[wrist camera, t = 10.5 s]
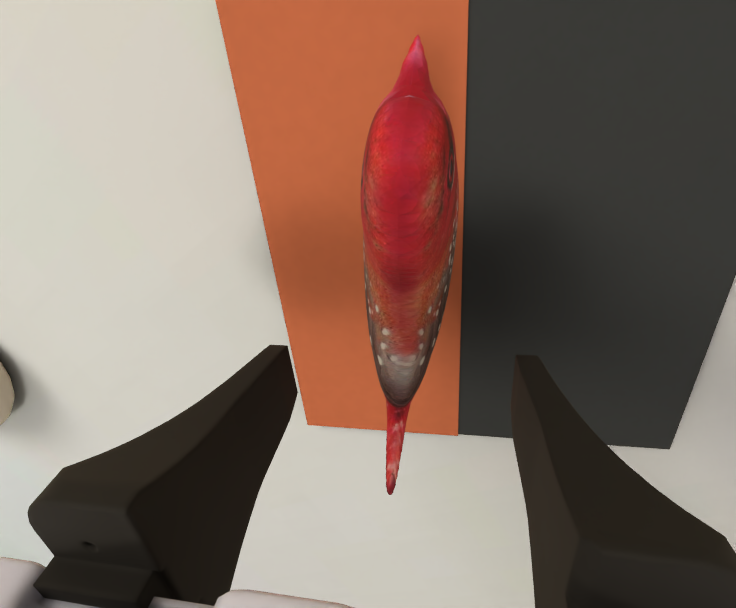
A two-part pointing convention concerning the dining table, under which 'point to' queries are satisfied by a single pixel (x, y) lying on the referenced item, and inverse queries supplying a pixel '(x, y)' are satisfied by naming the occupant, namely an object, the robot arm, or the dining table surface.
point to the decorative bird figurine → (407, 237)
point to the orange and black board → (506, 197)
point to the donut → (5, 395)
